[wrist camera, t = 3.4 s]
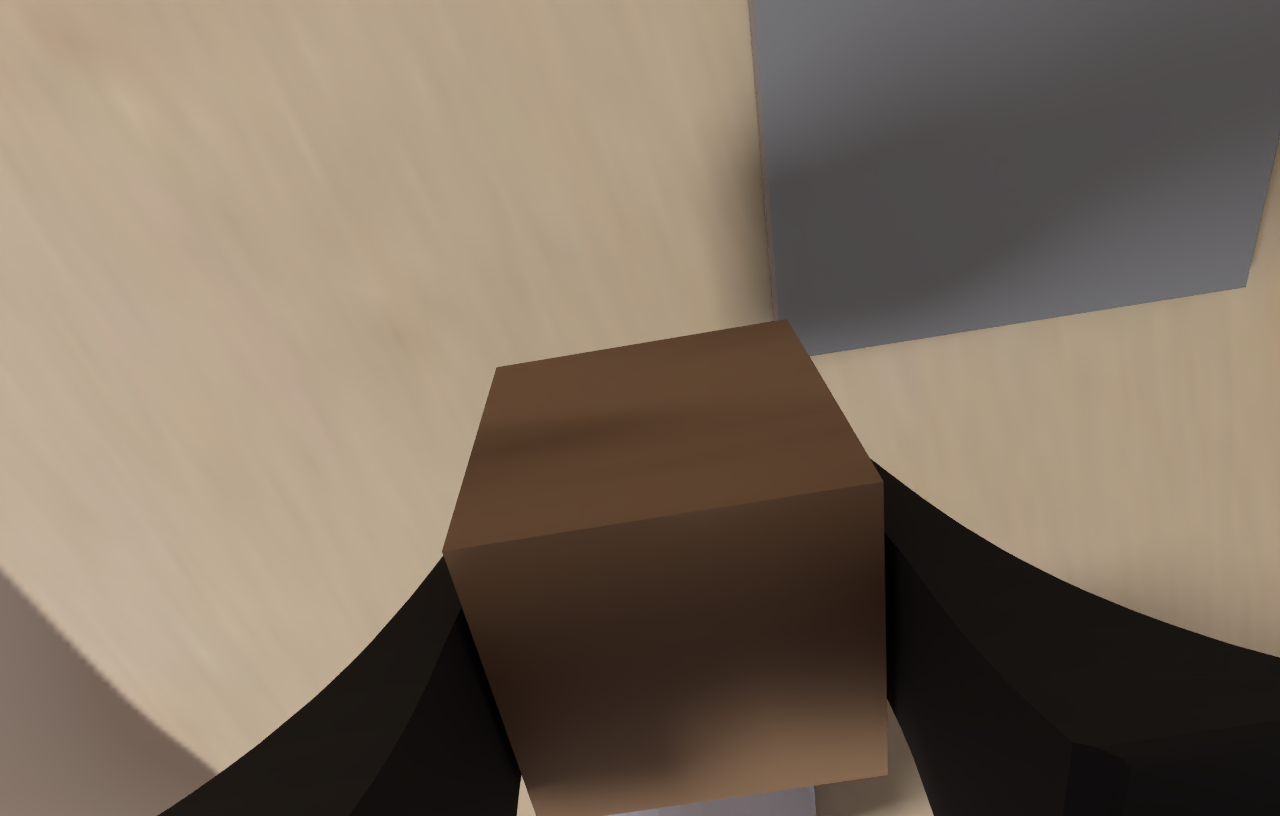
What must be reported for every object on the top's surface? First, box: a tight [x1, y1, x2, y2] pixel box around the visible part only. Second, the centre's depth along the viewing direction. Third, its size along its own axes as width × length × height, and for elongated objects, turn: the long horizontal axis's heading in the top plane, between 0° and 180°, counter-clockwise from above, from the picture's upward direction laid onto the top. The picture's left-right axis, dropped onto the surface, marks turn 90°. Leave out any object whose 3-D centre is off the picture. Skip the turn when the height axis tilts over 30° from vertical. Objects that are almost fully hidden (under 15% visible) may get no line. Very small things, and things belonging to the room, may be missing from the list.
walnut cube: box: [442, 319, 888, 816], centre depth 12 cm, size 5×5×5 cm
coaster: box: [748, 0, 1280, 356], centre depth 18 cm, size 12×12×1 cm
